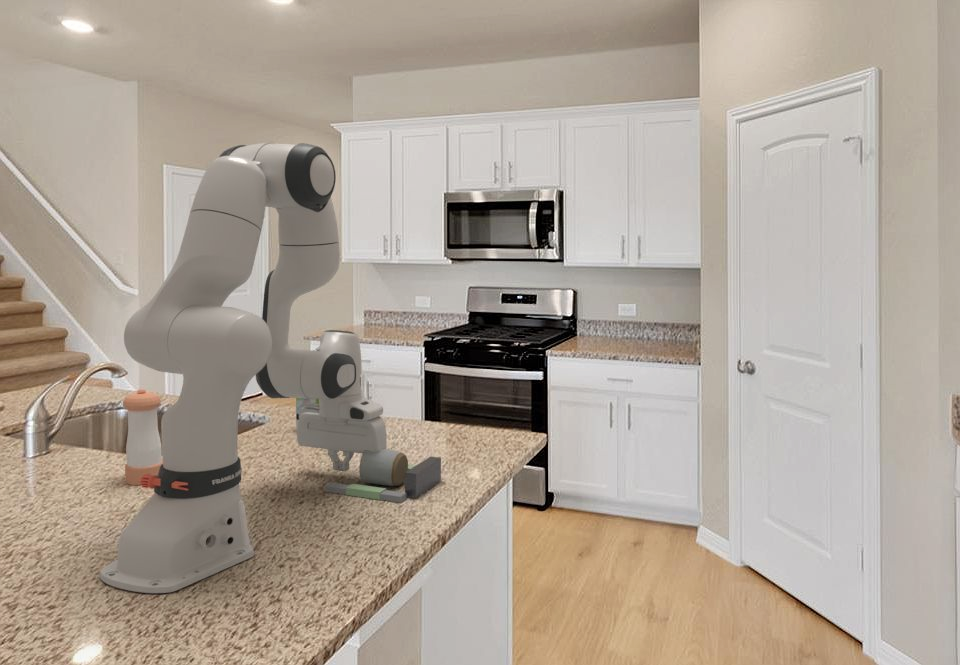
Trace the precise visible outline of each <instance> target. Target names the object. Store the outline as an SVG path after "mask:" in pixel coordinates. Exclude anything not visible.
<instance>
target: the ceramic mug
mask: <svg viewBox="0 0 960 665" xmlns="http://www.w3.org/2000/svg"><path fill="white" fill-rule="evenodd" d="M361 454H362V453H361ZM359 460H360V462H359V469H358V470H359V471H358V472H359V478H360V480H361V481H362V482H363V483H366V484H373V485H378V486H379V485H380V486H381V485H382V486H388V487H398V486H401V485H402V484H403V482H405V472H407V471H408V465H409V460H408V458H407V455H406V454H405V453H403V452H401V451H399V450H397V449H396V450H394V449H390V448H387V447H386V448H384V449H381V450H380V451H379V452H372V451H369V450H365V451H364V452H363V454H362V455H361V457H360V459H359Z"/></svg>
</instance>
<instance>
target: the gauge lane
mask: <svg viewBox="0 0 960 665" xmlns="http://www.w3.org/2000/svg"><path fill="white" fill-rule="evenodd" d="M415 466H416V465H413V464H408V470H410V469H411V468H413V467H415ZM323 487H324V489H323V490H324V491H326V492H325V493H330V492H333V493H332V494H337V493H339V494H338V495H344V494H346V495H345V496H349V495H351V496H352V497H356V496H357V498H362V497H364V498H363V499H369V498H370V499H372V500H376V499H377V501H384V500H386V501H385V502H391V503H392V502H393V503H398V504H399V503H400V504H401V503H403V502H404V501H405V500H407V497H406V493H405V492H403V491H395V490H389V489H387V488H385V487H377V486H370V485H364V484H357V483H352V484H346V483H338V482H329V483H327V484H325V485H324V486H323ZM351 496H350V497H351ZM370 499H369V500H370Z"/></svg>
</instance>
